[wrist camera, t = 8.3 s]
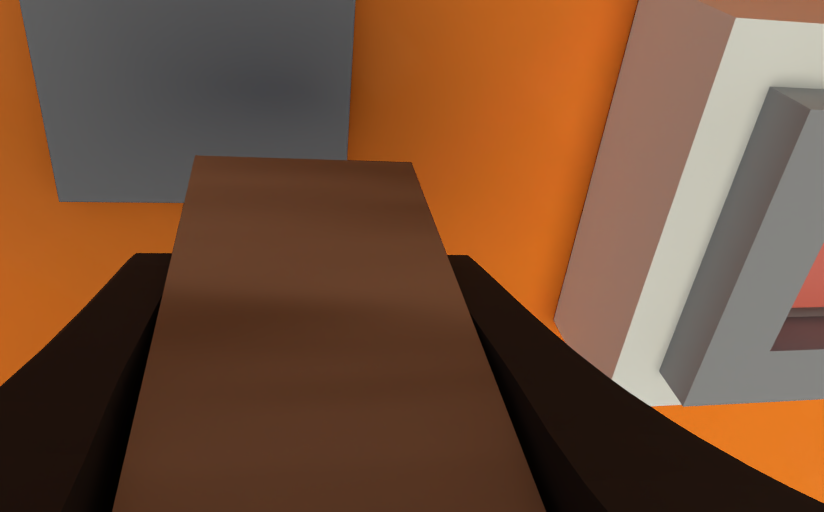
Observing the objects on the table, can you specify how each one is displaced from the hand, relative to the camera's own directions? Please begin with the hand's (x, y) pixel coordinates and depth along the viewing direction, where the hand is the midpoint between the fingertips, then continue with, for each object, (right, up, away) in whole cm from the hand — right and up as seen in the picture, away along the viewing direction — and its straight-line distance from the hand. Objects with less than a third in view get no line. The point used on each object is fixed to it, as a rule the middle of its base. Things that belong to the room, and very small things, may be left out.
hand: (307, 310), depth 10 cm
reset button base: (+13, +4, +13) cm, 19 cm away
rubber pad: (-4, +6, +8) cm, 11 cm away
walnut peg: (0, +1, +2) cm, 2 cm away
